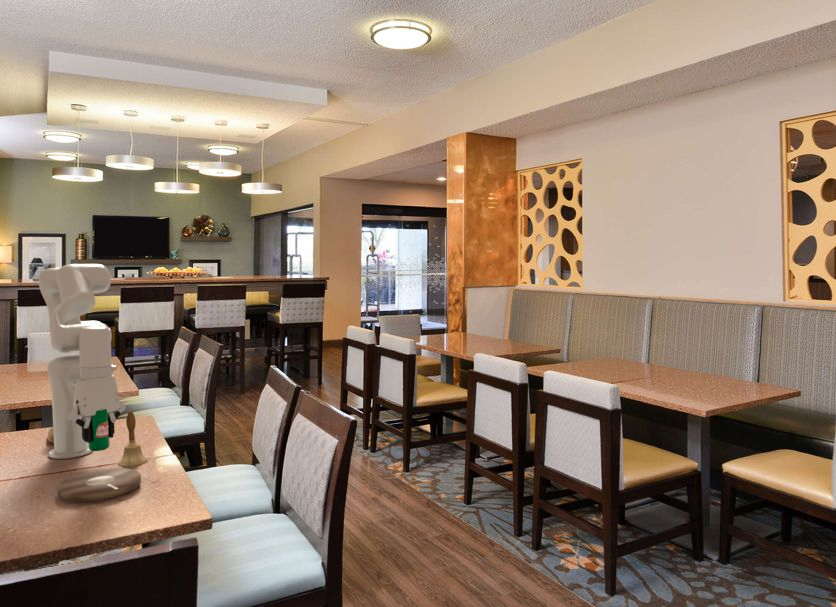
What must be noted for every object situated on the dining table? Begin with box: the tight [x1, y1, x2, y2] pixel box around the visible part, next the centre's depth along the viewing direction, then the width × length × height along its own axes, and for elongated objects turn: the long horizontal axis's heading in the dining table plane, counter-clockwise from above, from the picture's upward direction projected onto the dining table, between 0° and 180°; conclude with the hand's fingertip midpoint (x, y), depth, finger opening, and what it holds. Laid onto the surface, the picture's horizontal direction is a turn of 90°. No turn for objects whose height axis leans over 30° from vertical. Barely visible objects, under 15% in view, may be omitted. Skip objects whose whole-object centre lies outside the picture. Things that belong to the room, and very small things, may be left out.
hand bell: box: [117, 410, 148, 467], centre depth 186 cm, size 8×8×16 cm
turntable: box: [57, 467, 142, 502], centre depth 163 cm, size 20×20×2 cm
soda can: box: [88, 408, 111, 452], centre depth 162 cm, size 5×5×12 cm
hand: (98, 438), depth 162 cm, fingers closed on soda can, 5 cm apart
